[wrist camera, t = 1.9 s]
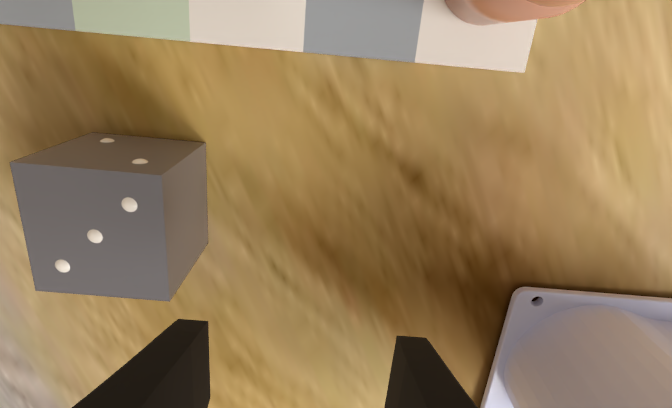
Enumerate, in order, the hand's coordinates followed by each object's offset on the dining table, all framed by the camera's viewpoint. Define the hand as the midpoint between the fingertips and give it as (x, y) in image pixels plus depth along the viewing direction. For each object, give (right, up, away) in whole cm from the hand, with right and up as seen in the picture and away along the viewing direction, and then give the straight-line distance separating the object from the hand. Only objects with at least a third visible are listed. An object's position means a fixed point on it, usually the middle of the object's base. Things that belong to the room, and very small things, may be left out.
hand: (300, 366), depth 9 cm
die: (-7, +4, +9) cm, 12 cm away
